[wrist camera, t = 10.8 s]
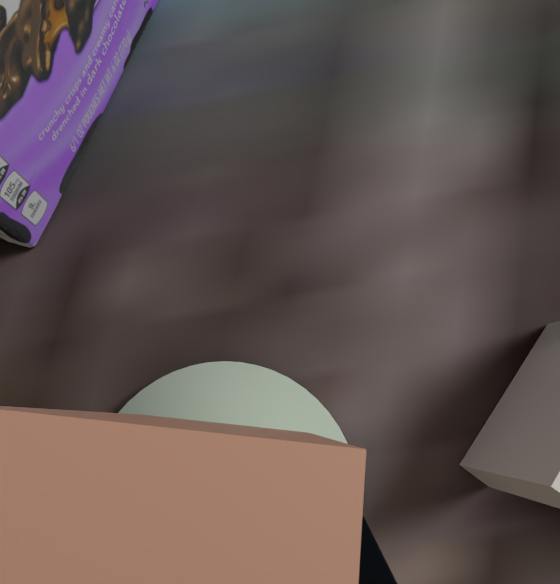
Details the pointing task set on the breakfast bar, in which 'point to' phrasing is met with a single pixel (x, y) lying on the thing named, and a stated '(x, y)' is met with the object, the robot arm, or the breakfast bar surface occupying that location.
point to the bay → (525, 429)
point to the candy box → (55, 96)
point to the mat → (235, 399)
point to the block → (174, 501)
